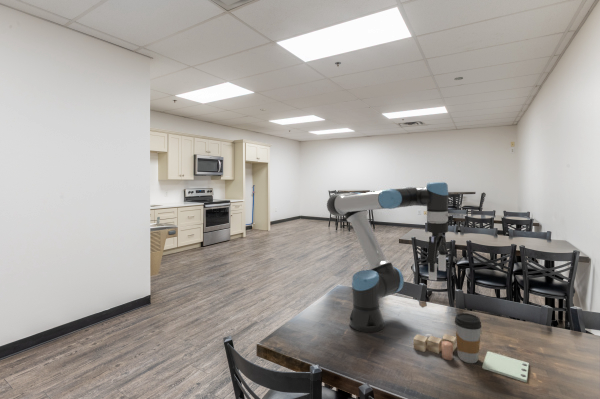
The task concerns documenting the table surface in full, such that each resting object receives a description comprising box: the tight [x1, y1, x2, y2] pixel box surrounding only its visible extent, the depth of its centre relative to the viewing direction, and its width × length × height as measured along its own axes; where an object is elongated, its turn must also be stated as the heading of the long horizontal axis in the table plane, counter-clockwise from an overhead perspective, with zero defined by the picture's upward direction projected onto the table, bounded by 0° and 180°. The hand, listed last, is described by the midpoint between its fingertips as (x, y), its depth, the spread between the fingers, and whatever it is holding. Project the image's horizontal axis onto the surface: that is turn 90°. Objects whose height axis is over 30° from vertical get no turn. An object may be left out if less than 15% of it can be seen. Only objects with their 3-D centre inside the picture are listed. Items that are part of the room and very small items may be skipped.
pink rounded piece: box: [441, 341, 454, 361], centre depth 108 cm, size 4×4×5 cm
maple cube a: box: [413, 334, 428, 353], centre depth 115 cm, size 4×4×4 cm
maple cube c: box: [441, 333, 457, 352], centre depth 114 cm, size 4×4×4 cm
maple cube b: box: [427, 336, 442, 354], centre depth 113 cm, size 4×4×4 cm
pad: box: [481, 350, 530, 384], centre depth 102 cm, size 12×11×1 cm
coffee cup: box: [454, 312, 482, 364], centre depth 107 cm, size 8×8×15 cm
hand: (437, 275), depth 119 cm, fingers open, 13 cm apart
